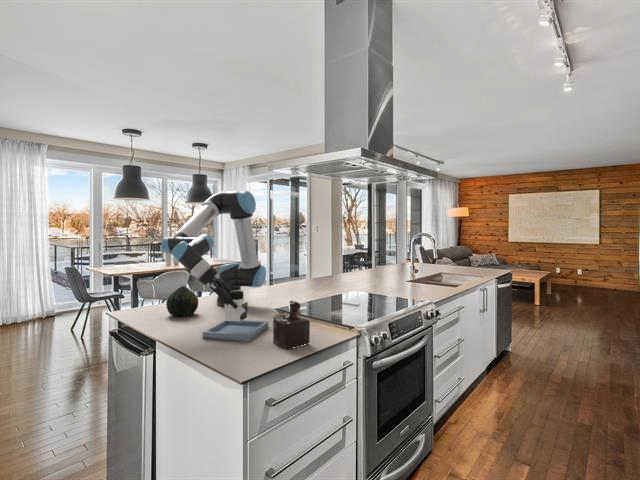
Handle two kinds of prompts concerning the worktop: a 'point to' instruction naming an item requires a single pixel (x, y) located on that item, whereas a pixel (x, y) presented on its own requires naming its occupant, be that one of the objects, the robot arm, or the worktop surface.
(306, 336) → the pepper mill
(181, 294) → the squash
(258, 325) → the tray
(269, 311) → the worktop surface
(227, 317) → the medicine bottle
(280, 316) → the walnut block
